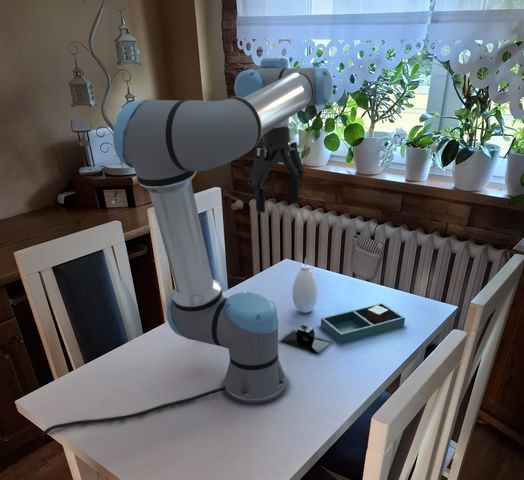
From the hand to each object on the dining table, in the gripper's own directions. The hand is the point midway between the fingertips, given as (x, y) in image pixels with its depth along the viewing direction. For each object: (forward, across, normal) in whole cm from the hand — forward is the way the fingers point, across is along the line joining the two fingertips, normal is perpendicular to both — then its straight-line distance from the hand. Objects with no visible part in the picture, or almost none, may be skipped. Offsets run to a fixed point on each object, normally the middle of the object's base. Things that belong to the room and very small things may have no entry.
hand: (277, 206), depth 140 cm
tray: (+33, -7, +27) cm, 43 cm away
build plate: (+33, +11, +21) cm, 40 cm away
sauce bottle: (+33, -4, +8) cm, 34 cm away
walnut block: (+32, -12, +29) cm, 45 cm away
